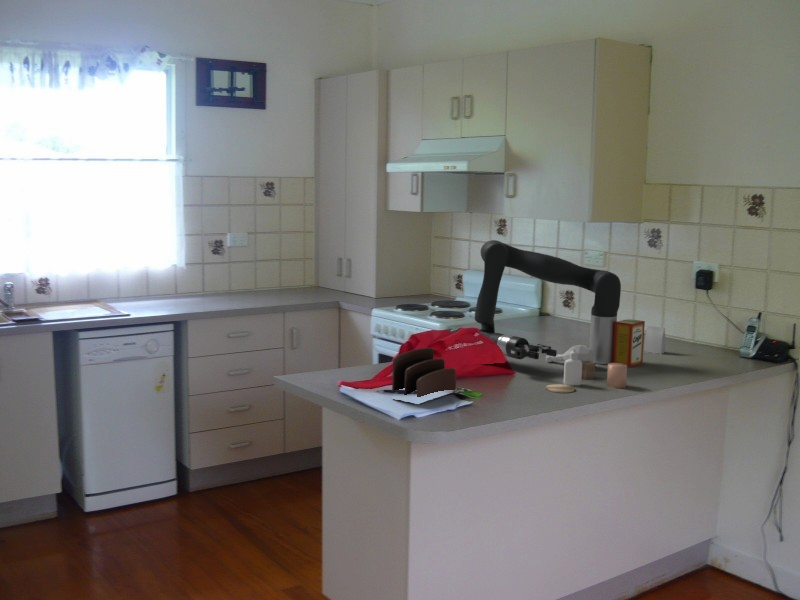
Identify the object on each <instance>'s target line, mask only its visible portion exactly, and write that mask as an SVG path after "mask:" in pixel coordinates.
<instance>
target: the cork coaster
mask: <svg viewBox="0 0 800 600" xmlns="http://www.w3.org/2000/svg"><path fill="white" fill-rule="evenodd" d="M545 390H546V391H549V392H551V393H556V394H558V393H559V394H569V393H574V392H575V386H572V385H565V384H564V383H563V384H562V383H561V384H560V383H559V384H558V383H557V384H556V383H554V384H548V385H546V386H545Z"/></svg>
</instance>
